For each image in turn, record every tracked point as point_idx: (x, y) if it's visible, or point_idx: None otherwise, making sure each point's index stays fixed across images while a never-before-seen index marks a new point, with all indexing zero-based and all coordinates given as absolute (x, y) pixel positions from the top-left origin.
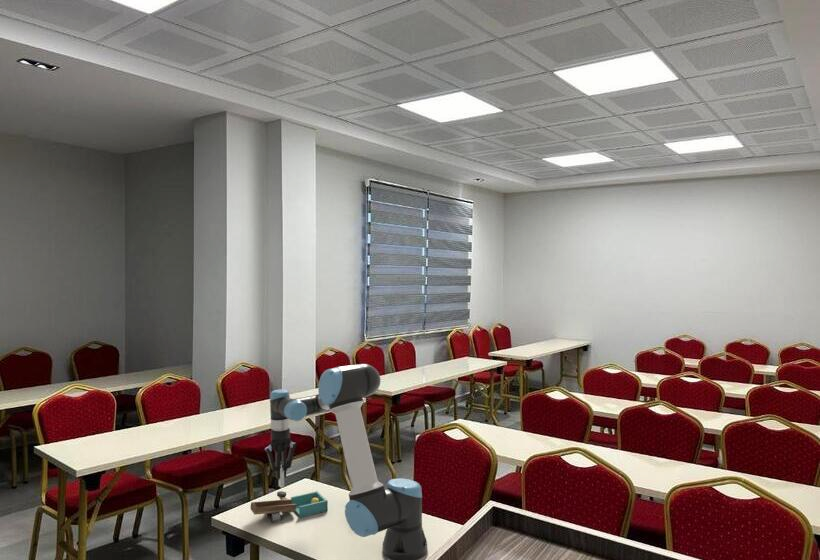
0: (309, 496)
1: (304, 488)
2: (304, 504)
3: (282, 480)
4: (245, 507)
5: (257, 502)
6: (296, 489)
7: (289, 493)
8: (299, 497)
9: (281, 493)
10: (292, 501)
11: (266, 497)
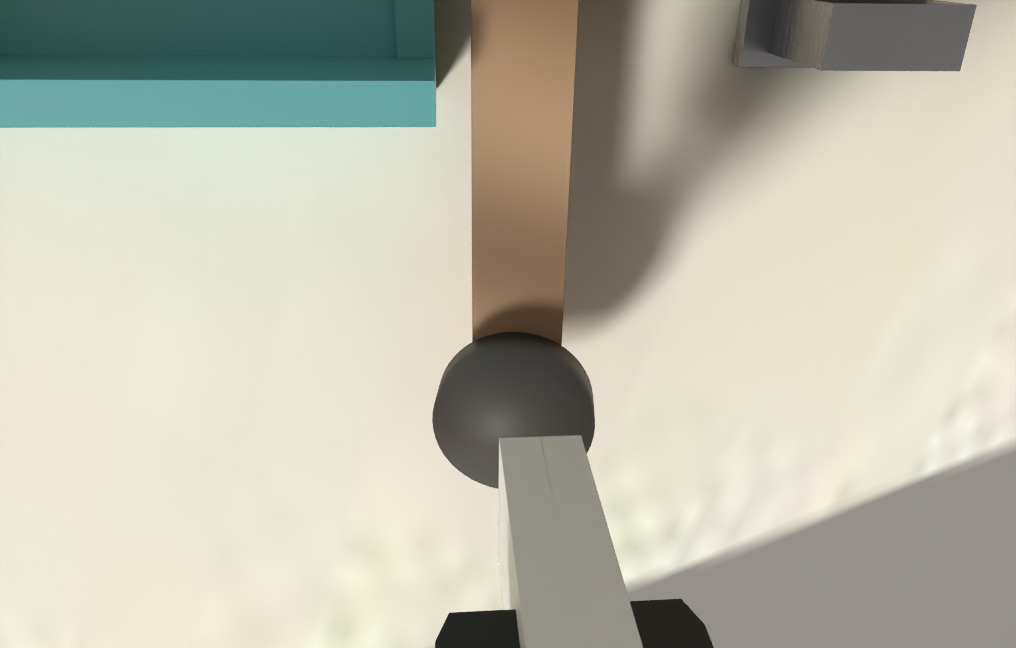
0: (19, 70)
1: (76, 607)
2: (189, 2)
3: (557, 544)
4: (978, 415)
5: None
6: (194, 620)
7: (318, 551)
8: (249, 77)
9: (529, 403)
10: (414, 67)
11: (631, 565)
